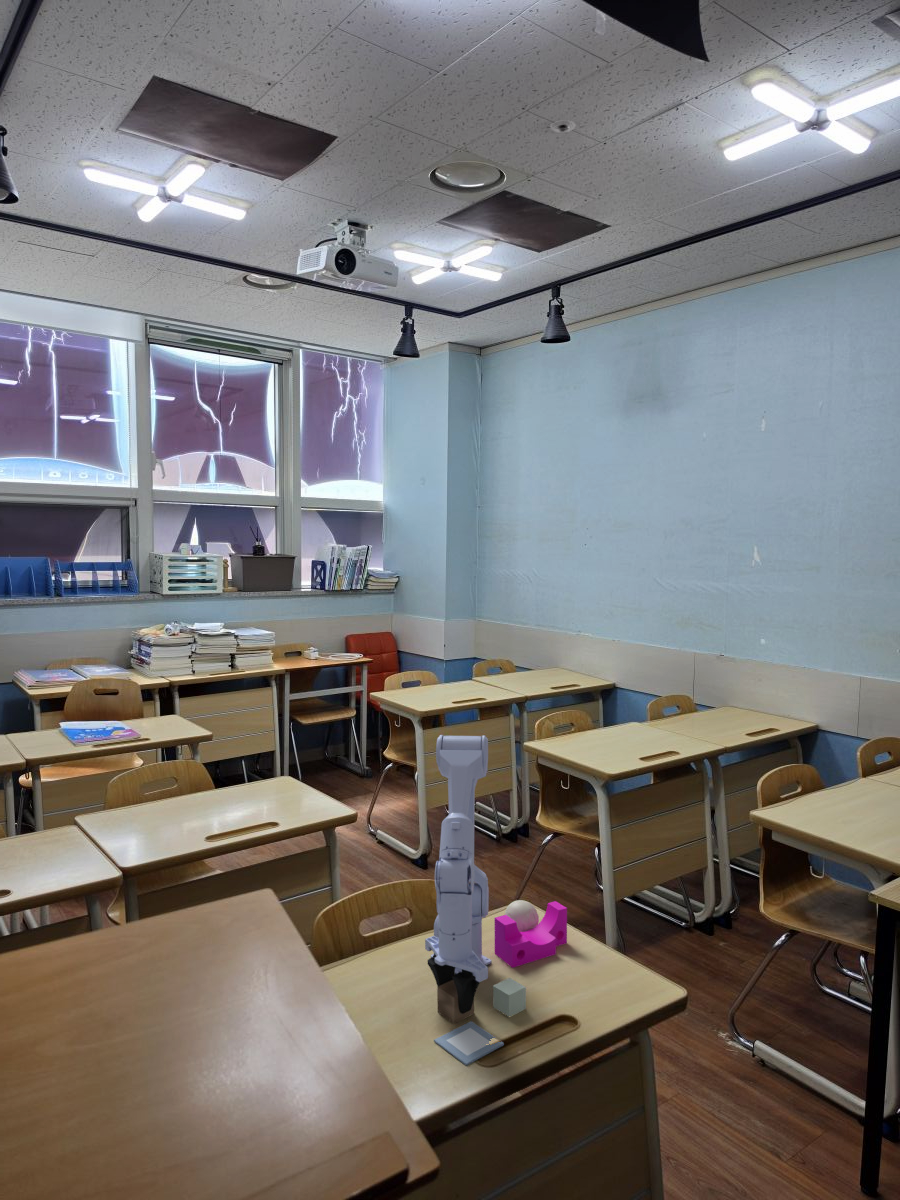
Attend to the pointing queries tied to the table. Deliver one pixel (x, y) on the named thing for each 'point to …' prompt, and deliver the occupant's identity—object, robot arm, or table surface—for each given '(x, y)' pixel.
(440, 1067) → the table surface
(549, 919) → the toy block
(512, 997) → the sage cube
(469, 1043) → the pad
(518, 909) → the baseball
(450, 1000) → the walnut cube
